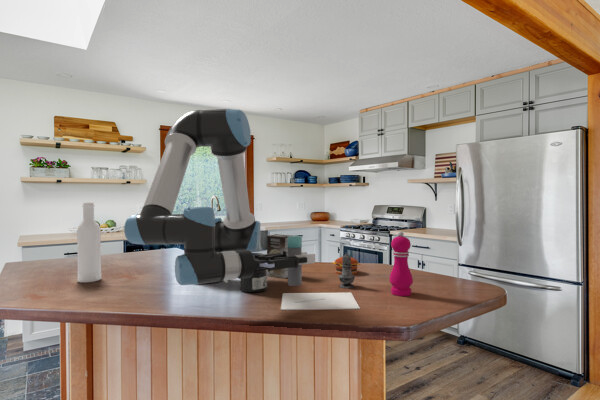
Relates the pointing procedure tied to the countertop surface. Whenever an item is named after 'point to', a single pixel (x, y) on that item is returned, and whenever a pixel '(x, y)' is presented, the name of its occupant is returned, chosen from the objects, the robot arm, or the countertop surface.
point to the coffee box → (274, 246)
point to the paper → (318, 301)
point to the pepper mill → (401, 267)
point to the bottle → (88, 246)
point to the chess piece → (346, 273)
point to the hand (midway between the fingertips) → (310, 257)
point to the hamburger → (340, 262)
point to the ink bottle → (255, 281)
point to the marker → (293, 249)
